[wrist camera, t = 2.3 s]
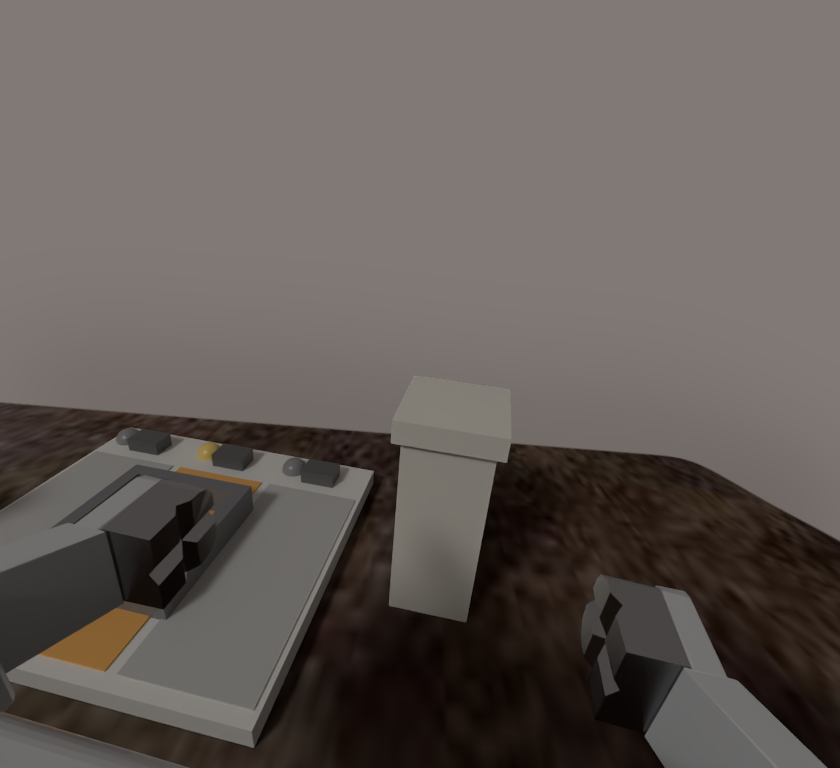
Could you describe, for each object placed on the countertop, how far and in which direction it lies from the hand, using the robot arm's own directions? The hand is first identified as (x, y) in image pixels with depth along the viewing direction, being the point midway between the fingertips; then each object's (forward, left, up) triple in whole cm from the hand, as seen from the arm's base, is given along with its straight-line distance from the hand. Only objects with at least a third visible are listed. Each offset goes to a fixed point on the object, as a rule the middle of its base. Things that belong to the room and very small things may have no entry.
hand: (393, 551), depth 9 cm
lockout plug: (0, -12, -15) cm, 19 cm away
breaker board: (+16, -11, -15) cm, 25 cm away
